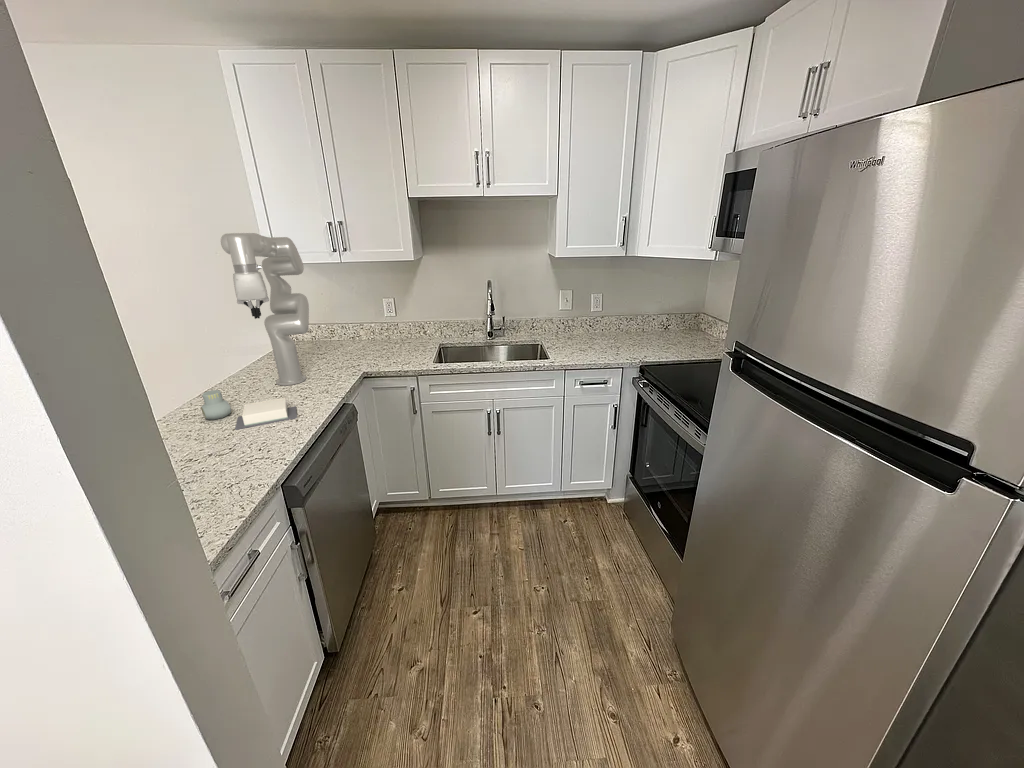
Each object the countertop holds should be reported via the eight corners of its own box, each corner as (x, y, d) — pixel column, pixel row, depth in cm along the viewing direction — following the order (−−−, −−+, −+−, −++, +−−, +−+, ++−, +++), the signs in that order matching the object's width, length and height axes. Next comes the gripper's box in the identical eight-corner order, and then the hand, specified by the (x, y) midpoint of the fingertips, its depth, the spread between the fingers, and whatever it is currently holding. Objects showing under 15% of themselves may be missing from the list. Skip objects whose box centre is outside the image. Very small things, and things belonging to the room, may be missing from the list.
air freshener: (202, 415, 164) (195, 391, 160) (227, 409, 169) (220, 386, 165) (208, 424, 156) (201, 399, 153) (234, 417, 162) (227, 393, 158)
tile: (244, 404, 162) (242, 415, 152) (285, 397, 168) (285, 408, 157) (247, 413, 163) (244, 425, 153) (287, 406, 169) (287, 417, 159)
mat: (238, 418, 161) (237, 416, 161) (296, 407, 169) (295, 406, 169) (235, 430, 151) (235, 428, 151) (297, 418, 160) (296, 416, 160)
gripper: (268, 267, 163) (279, 314, 170) (223, 269, 157) (235, 318, 164) (268, 268, 157) (278, 317, 164) (221, 271, 151) (233, 322, 157)
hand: (257, 317), depth 164 cm, fingers closed
